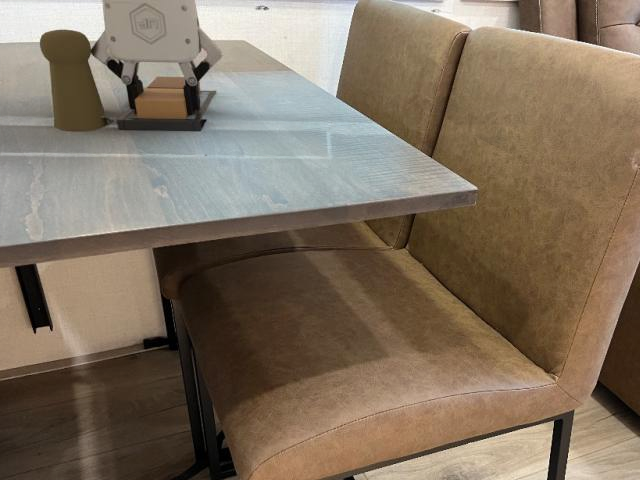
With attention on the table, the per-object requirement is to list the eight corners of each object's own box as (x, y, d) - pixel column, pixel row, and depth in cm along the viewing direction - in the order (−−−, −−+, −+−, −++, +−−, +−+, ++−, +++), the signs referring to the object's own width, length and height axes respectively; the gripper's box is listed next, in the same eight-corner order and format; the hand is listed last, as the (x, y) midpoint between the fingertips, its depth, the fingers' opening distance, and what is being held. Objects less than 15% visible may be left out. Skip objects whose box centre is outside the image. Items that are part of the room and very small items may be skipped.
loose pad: (138, 126, 77) (134, 99, 76) (149, 113, 82) (145, 88, 81) (186, 126, 78) (182, 100, 76) (194, 113, 83) (191, 88, 82)
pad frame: (118, 133, 76) (116, 119, 76) (147, 100, 90) (145, 89, 89) (201, 134, 78) (199, 121, 77) (217, 102, 91) (216, 90, 90)
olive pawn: (97, 118, 81) (79, 25, 76) (117, 129, 78) (100, 32, 72) (47, 125, 77) (24, 28, 72) (66, 137, 74) (43, 36, 68)
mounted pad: (150, 112, 83) (146, 87, 82) (160, 100, 89) (157, 76, 87) (194, 112, 84) (191, 88, 82) (201, 100, 89) (199, 77, 88)
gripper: (50, -50, 66) (86, 123, 76) (218, -43, 69) (233, 125, 78) (73, -53, 73) (103, 107, 82) (226, -46, 75) (239, 109, 84)
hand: (166, 114), depth 80 cm, fingers closed on loose pad, 5 cm apart
